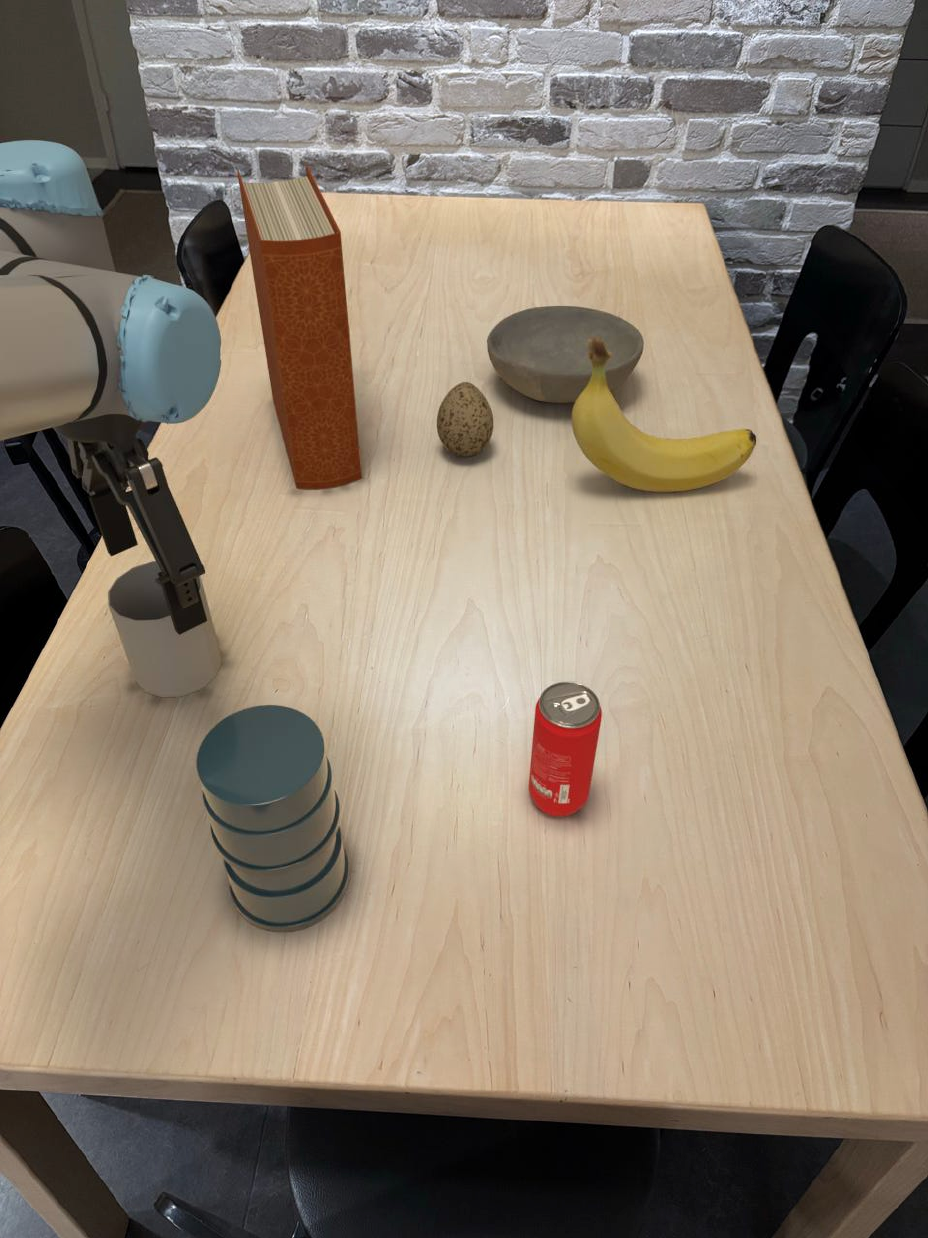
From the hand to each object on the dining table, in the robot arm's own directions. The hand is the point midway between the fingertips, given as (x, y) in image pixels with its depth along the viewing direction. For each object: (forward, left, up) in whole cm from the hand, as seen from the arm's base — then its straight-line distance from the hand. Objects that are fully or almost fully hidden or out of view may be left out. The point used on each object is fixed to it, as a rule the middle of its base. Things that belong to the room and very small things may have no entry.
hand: (155, 585), depth 83 cm
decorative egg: (+46, +11, -11) cm, 48 cm away
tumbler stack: (-4, -27, -10) cm, 29 cm away
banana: (+59, -10, -11) cm, 61 cm away
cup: (0, 0, -11) cm, 11 cm away
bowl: (+67, +15, -11) cm, 69 cm away
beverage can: (+18, -35, -11) cm, 41 cm away
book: (+33, +26, -11) cm, 43 cm away
